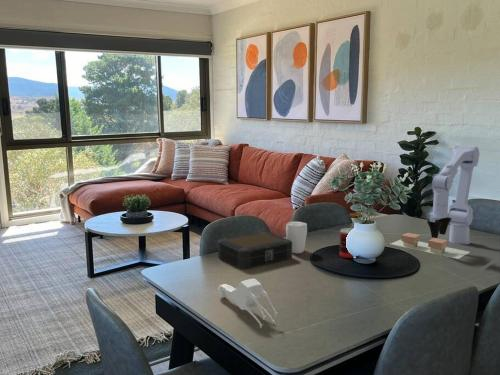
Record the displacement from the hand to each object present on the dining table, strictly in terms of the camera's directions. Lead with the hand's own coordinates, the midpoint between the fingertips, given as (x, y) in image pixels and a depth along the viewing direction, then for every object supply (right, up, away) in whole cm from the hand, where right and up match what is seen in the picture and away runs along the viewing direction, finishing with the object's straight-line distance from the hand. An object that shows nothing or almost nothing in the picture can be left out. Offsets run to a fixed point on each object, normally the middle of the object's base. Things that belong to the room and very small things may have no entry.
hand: (438, 235), depth 198 cm
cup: (-59, -7, +6) cm, 60 cm away
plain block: (0, -7, +1) cm, 7 cm away
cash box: (-77, -9, -3) cm, 77 cm away
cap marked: (-8, -3, +9) cm, 13 cm away
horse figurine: (-81, -18, -54) cm, 99 cm away
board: (-1, -7, +7) cm, 10 cm away
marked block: (-8, -5, +10) cm, 14 cm away
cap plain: (0, -5, +1) cm, 5 cm away
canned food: (-38, -9, -1) cm, 39 cm away
